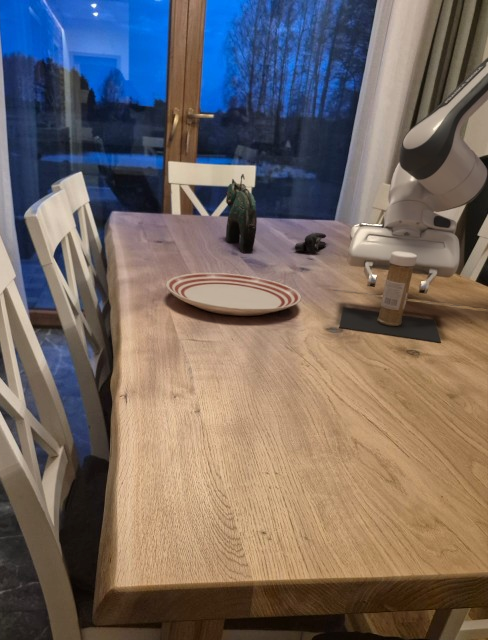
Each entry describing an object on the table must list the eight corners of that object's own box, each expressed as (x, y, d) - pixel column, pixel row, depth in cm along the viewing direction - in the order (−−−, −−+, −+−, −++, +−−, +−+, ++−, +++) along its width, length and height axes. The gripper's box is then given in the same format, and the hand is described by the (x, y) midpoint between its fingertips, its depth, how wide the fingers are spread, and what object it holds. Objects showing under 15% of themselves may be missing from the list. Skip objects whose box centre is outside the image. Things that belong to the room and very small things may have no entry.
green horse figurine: (220, 239, 179) (226, 170, 170) (240, 240, 180) (247, 171, 171) (238, 253, 161) (245, 177, 152) (260, 254, 162) (268, 179, 154)
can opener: (313, 256, 164) (317, 236, 162) (291, 252, 167) (294, 232, 165) (334, 247, 178) (337, 228, 175) (313, 244, 181) (315, 225, 178)
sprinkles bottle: (405, 324, 111) (422, 254, 105) (391, 328, 108) (407, 256, 102) (386, 318, 114) (401, 249, 108) (371, 321, 112) (386, 251, 106)
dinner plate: (227, 278, 135) (228, 264, 134) (325, 308, 118) (328, 293, 117) (137, 297, 117) (137, 281, 116) (238, 335, 100) (240, 317, 99)
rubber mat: (434, 320, 115) (434, 319, 115) (440, 343, 103) (441, 342, 103) (343, 307, 119) (343, 306, 119) (339, 328, 107) (339, 327, 107)
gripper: (354, 211, 112) (342, 272, 108) (465, 222, 107) (458, 286, 103) (350, 231, 118) (339, 289, 114) (456, 242, 113) (449, 304, 109)
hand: (396, 288), depth 108 cm, fingers open, 8 cm apart
